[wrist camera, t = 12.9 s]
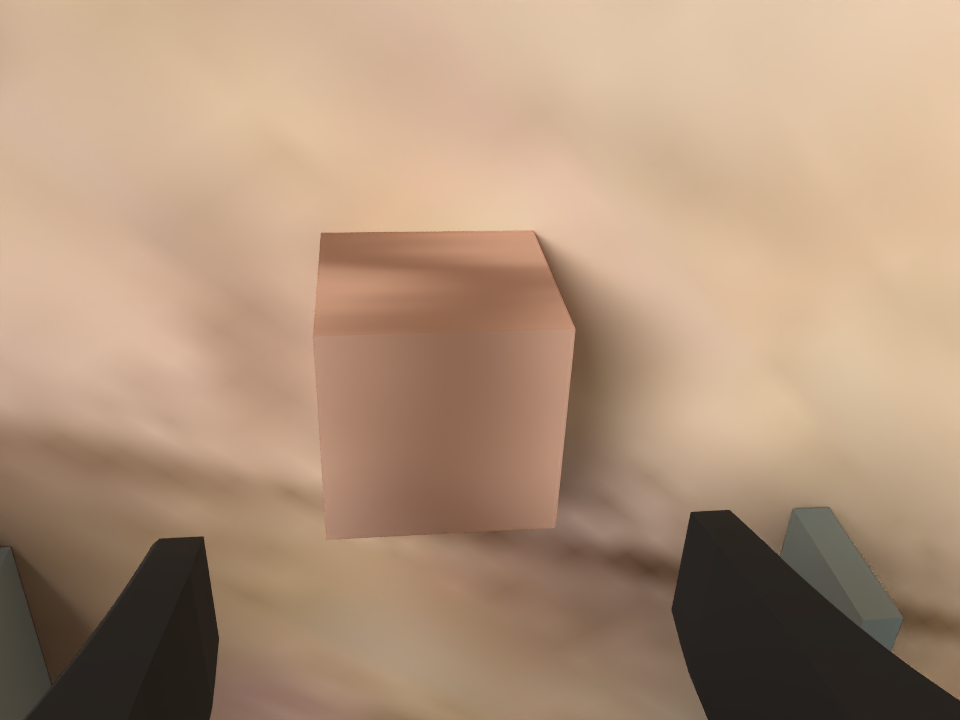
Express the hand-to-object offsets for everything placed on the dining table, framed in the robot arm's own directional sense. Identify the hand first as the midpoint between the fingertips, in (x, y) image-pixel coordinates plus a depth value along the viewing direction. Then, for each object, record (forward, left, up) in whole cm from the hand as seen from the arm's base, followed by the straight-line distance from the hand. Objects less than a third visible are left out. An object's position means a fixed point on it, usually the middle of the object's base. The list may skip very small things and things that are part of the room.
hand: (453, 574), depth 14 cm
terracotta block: (0, 0, -8) cm, 8 cm away
